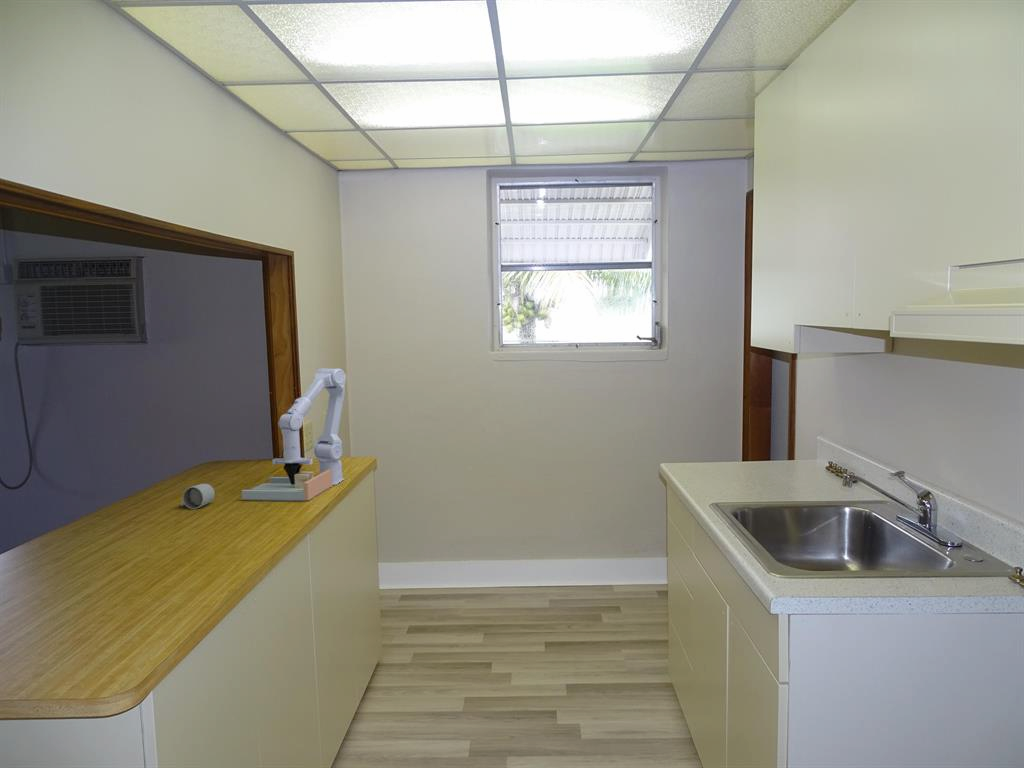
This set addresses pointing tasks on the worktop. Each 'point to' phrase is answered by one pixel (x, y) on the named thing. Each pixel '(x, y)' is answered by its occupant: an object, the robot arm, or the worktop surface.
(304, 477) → the birch block
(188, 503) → the ceramic mug
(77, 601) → the worktop surface
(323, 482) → the box
